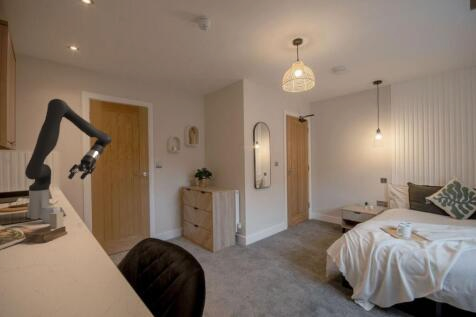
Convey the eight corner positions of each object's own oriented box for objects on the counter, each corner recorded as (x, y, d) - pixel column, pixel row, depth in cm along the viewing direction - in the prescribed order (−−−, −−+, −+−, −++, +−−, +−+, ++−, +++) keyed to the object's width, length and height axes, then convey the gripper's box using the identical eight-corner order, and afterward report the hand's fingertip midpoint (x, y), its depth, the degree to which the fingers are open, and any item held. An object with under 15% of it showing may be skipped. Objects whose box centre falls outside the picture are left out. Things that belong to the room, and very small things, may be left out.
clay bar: (49, 228, 115) (49, 213, 115) (56, 226, 119) (56, 211, 119) (56, 228, 115) (56, 213, 115) (63, 226, 119) (63, 211, 119)
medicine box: (60, 221, 128) (60, 206, 128) (53, 223, 123) (53, 208, 123) (48, 220, 129) (48, 206, 128) (41, 222, 124) (41, 207, 124)
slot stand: (23, 241, 98) (23, 233, 97) (47, 233, 108) (47, 225, 108) (45, 242, 97) (45, 234, 97) (67, 233, 108) (67, 226, 107)
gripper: (77, 154, 138) (60, 174, 127) (96, 154, 135) (81, 174, 125) (85, 162, 143) (69, 182, 133) (103, 162, 141) (89, 182, 130)
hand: (75, 178), depth 129 cm, fingers open, 8 cm apart
